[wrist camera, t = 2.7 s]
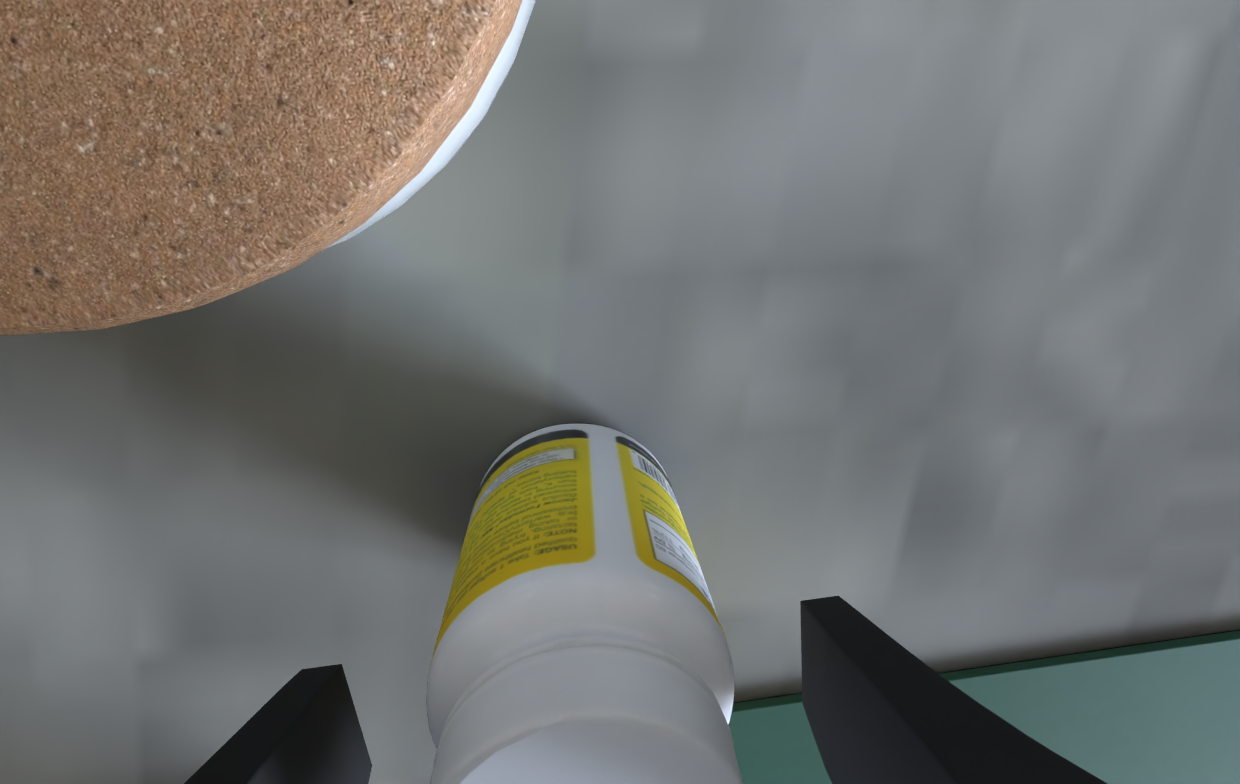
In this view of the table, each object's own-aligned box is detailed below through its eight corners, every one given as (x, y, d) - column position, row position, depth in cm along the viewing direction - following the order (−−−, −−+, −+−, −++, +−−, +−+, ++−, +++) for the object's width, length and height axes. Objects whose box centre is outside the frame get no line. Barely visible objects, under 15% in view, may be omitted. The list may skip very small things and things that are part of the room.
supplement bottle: (457, 572, 16) (347, 964, 8) (501, 396, 15) (421, 652, 7) (643, 609, 17) (711, 1001, 9) (700, 445, 15) (842, 729, 7)
